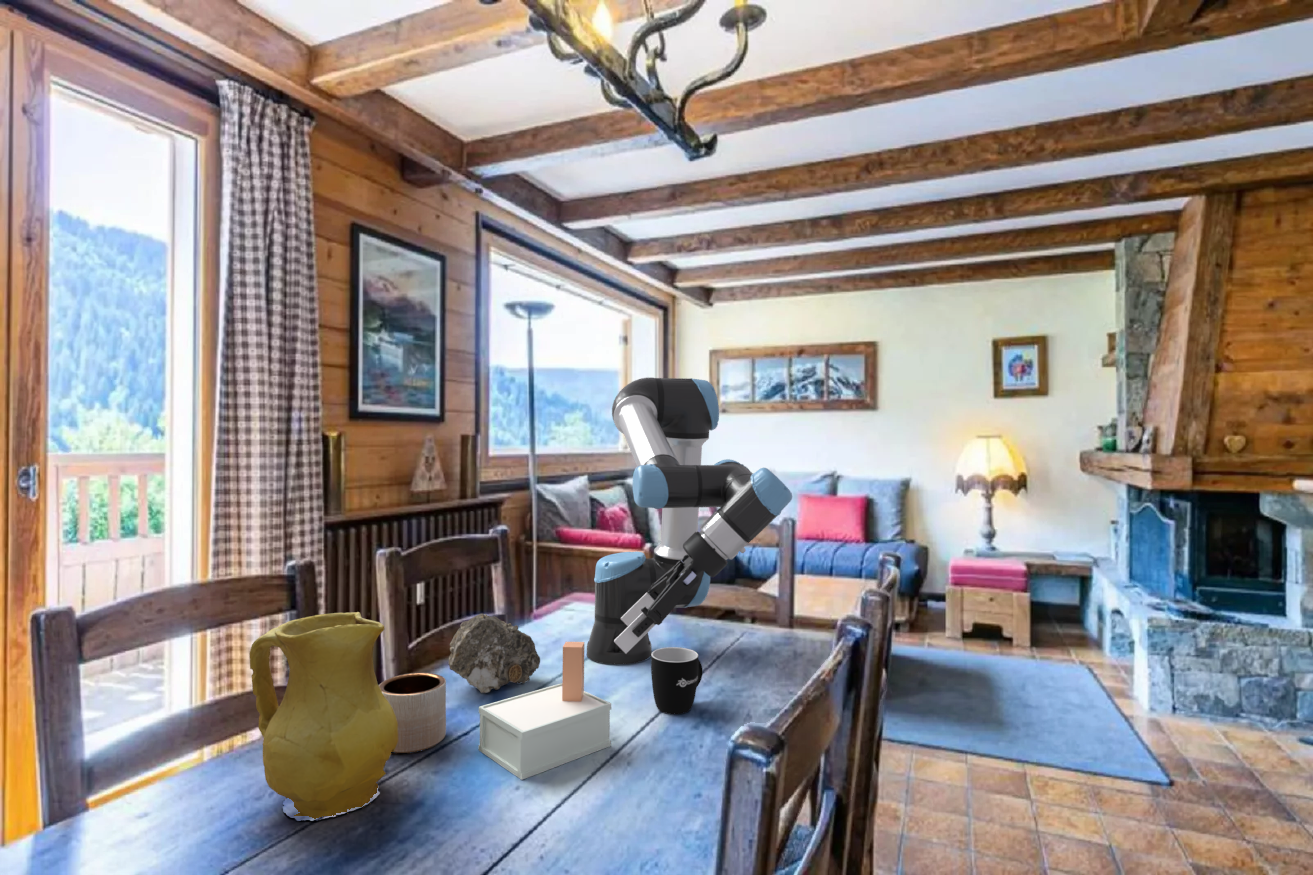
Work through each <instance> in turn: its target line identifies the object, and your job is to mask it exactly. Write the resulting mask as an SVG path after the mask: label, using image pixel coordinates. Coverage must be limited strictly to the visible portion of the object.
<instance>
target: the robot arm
mask: <svg viewBox="0 0 1313 875" xmlns="http://www.w3.org/2000/svg"><path fill="white" fill-rule="evenodd" d="M611 417H612V420H613V423H614V425H615V427H616V429H617V430H618V431H619V432H620V433H621V434H623V435H624V439H625V440H626V443H627V444H628V448H629V451H630V453H631V455H632V458H633V460H634V462H635V465H636V467H635V468H634V471H633V476H632V493H633V500H634V503H635V504H636V506H637V507H640V508H649V509H656V510H660V509H661V529H660V531H661V532H660V543H659V544H658V545H657V546H656V547H655V548H654V549H653V557H651V558H648V557H646V554H645V553H644V552H642V551H622V552H618V553H612V554H608V555H605V556H602V557H601V558H599V560H597V562H596V565H595V572H594V573H595V574H594V579H593V580H594V622H593V626H592V629H591V632H590V636H589V640H588V642H587V644H586V657H587V658H588V659H589V660H591V661H593V662H595V663H600V664H604V665H616V666H617V665H618V666H619V665H631V664H632V665H633V664H637V663H641V662H644V661H647V660H648V659H651V654H652V652H653V651H652V649H653V648H652V643H651V641H650V636H649V632H650V631H651V630H652V629H653V628H654V627H655V626H656V625H657V626H660V625H661V624H663V621H664V620H665V619H666V618H667V617H668V616H669V614H670V613H671V612H672V611H673V610H674V609H675V608H676V609H677V608H682V609H686V608H688V607H689V608H690V607H698V606H700V605H701V604H703V602H704V601H705V600H706V598H707V596H708V593H709V591H710V585H711V578H715V577H716V576H718V574H720V572H721V571H723V569H724V568H725V567H726V566H728V560H733V559H734V558H735V557H736V556H737V555H738V554H739V552H740V553H741V554H744V553H746V551H747V550H746V548H745V547H747V546H748V544H749V543H751V541H753V540H754V539H755V538H756V537H757V536H758V535H759V534H760V533H761V532H762V531H763V530H764V529H766V528H767V527H768V525H770V524H771V523H772V522H773V521H774V520H775V519H776V518H777V517H778V516H780V515H781V513H782V511H783V510H784V509H785V508H786V507H787V506H788V505H789V504H790V503H791V501H792V500H793V494H792V492H791V490H790V489H789V487H787V485H786V484H785V483H784V482H783V481H782V480H781V479H780V478H779V477H778V476H777V475H775V473H774V472H772V470H770V469H769V468H767V467H760V468H759V469H758V470H756V471H755V472H754V473H753V472H752V471H751V470H750V469H749V468H748V467H747V466H745V464H743V463H740V462H738V461H736V460H734V459H730V458H729V459H728V458H727V459H722V460H720V461H718V462H716V463H714V464H704V465H703V464H702V454H703V453H702V449H703V448H702V447H703V445H704V443H706V442H707V441H708V440H709V439H710V431H713V430H716V429H717V427H718V425H719V420H720V406H719V400H718V396H717V393H716V390H715V388H714V386H713V384H711V383H710V381H708V380H706V379H697V378H687V377H686V378H675V377H674V378H672V377H671V378H670V377H669V378H668V377H667V378H666V377H663V378H662V377H642V378H639V379H635V380H633V381H630V383H628V384H626V385H625V386H623V387H622V388H621V390H620V391H618V393H617V395H616V396H615V398H614V400H613V403H612V407H611ZM700 508H717V510H716V511H714V512H713V513H712V514H711V515H710V516H709V517H708V518H707V519H706V520H705V521H704V522H703V523H702V524H701V525H700V526H699V509H700ZM699 528H700V531H698V530H699Z"/></svg>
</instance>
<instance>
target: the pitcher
mask: <svg viewBox="0 0 1313 875" xmlns="http://www.w3.org/2000/svg"><path fill="white" fill-rule="evenodd" d="M384 631H385V625H384V624H383V623H381V622H379V621H376V620H371V619H366V618H363V617H362V615H361V612H359V611H357V612H353V611H351V612H334V613H333V612H331V613H324V614H323V613H322V614H315V615H312V616H306V617H302V618H301V617H300V618H297V619H293V620H289V621H287V622H285V623H283V624H280V625H278V627H273V628H272V629H270V630H268V631H267V632H266V633H265V634H262V635H261V636H259V637H258V638H257V639H255V640H254V641H253V642H252V644H251V646H250V650H249V655H248V656H249V657H248V658H249V669H250V670H252V674H251V686H252V687H251V688H252V693H253V696H255V708H256V710H257V712H258V713H259V715H258V730H259V732H260V733H261V735H262V738H263V740H262V763H263V764H262V765H263V768H264V777H265V782H266V784H267V786H268V787H269V788H270V789H271V790H272V791H274V792H275V793H276V794H277V795H279V796H281V797H284V798H285V799H286V798H289V799H291V800H292V801H293V802H294V807H295V808H296V809H297V810H298V812H300V813H298V814H296V815H294V816H309V817H312V818H314V819H316V818H319V817H322V816H323V817H324V816H332V815H333V816H334V815H336V813H341V812H347V809H349V810H350V809H351V808H355V807H362V806H363V805H364V804H365V803H368V802H369V801H370V798H372V797H373V795H374V794H376V793H377V788H378V784H377V783H378V782H379V781H380V780H381V779H382V778H383V777H384V776H385V775H386V774H387V773H386V771H385V770H384V769H385V766H386V764H387V761H389V760H390V757H391V755H392V753H391V752H394V750H395V748H396V745H397V743H398V723H397V720H396V716H395V714H394V711H393V708H392V707H391V705H390V704H389V702H388V701H387V699H386V698H385V697H384V695H383V693H382V691H381V689H380V687H379V684H378V681H377V676H376V673H375V668H374V646H375V644H376V641H377V639H378V637H379V636H380V635H381V634H382V633H383V632H384ZM271 647H275V648H279V649H280V650H281V652H282V653H283V655H284V656H285V658H286V660H287V664H288V668H289V669H288V670H289V671H288V672H289V673H288V679H287V682H286V683H287V684H286V688H285V692H284V695H283V698H282V700H281V702H280V704H279V702H278V701H279V700H278V698H277V693H276V689H275V685H274V679H273V675H272V670H271V664H270V663H271V662H270V660H271V659H270V658H271V656H270V655H271ZM376 782H377V783H376Z"/></svg>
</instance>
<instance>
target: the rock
mask: <svg viewBox="0 0 1313 875" xmlns="http://www.w3.org/2000/svg"><path fill="white" fill-rule="evenodd" d="M449 652H450V654H449V656H448V662H447V664H448V667H449V670H451V671H453V672H454V673H455V674H458V676H460V677H461V678H462V679H464V680H466V681H467V683H468V684H469V686H472V687H474V688H476V689H477V690H479V691H480V693H481V694H486V693H490V692H491V690H495V691H497V690H499V689H501V687H502V686H506V685H507V684H509V683H514V684H518V685H520V684H521V683H522V684H526V683H527V682H529V681H530V677H531V676H533V675H534V673H535V672H537V671H536V670H538V669H539V668H540V663H541V656H540V655H539V654H538V652H537V649H536V644H535V642H534V641H533V639H532V636H530V635H528V634H527V633H525V632H522V631H521V630H519V625H517V624H515V625H512V623H511V622H510V623H507V622H506V621H504V620H501V619H499V618H498V617H497V616H489V615H487V614H486V613H485V614H484V613H479V614H477V615H475V616H473V617H472V618H470V619H469V620H465V621H462V622H461V624H460V625H459V628H458V629H457V631H456V633H455V634H454V635H453V638H452V639H451V641H450V643H449Z"/></svg>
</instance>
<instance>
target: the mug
mask: <svg viewBox="0 0 1313 875" xmlns="http://www.w3.org/2000/svg"><path fill="white" fill-rule="evenodd" d="M699 657H700V656H699V653H697V652H696V651H695V650H693V649H690V648H687V647H686V648H685V647H679V646H678V647H676V646H674V647H673V646H669V647H661V648H657V649H655V650H653V651H652V654H651V657H650V668H651V669H650V673H651V674H650V675H651V684H652V693H653V699H654V703H655V706H656V709H658V711H660V712H661V713H664V714H668V715H682V714H686V713H689V711H690V710H692V708H693V705H694V703H695V698H696V693H697V688H698V687H699V685H700V683H701V680H702V678H703V666H702V663H701V661H700V660H699Z"/></svg>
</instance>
